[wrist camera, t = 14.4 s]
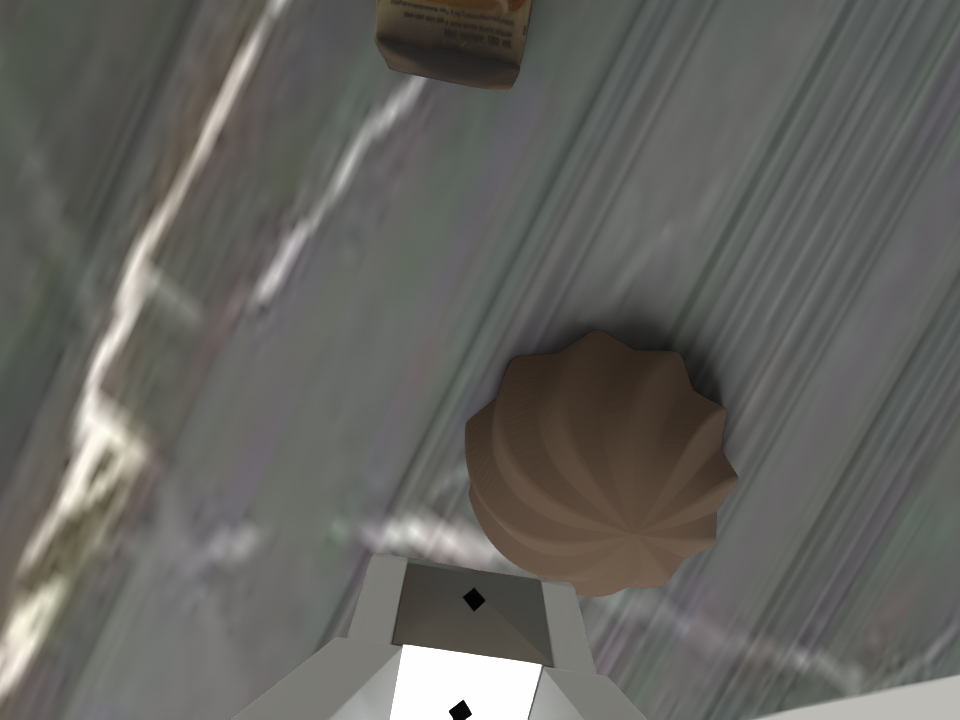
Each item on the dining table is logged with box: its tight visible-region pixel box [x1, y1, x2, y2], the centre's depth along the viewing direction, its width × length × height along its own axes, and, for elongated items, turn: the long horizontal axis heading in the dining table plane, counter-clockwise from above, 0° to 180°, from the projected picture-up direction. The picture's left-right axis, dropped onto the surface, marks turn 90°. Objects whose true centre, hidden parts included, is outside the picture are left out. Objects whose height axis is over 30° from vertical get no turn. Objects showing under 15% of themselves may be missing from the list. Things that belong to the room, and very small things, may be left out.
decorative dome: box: [465, 330, 738, 597], centre depth 35 cm, size 19×20×10 cm
